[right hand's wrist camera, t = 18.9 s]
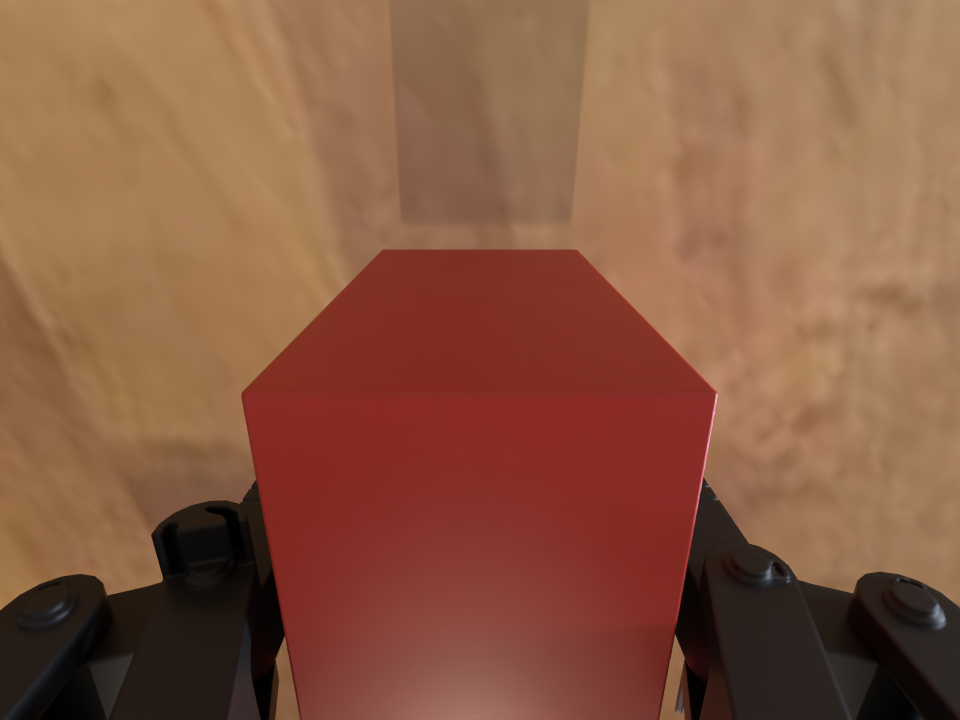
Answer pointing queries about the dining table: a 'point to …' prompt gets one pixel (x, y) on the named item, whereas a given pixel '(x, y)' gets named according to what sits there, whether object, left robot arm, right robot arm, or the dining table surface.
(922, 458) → the dining table surface
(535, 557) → the block
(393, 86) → the dining table surface
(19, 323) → the dining table surface
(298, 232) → the dining table surface
